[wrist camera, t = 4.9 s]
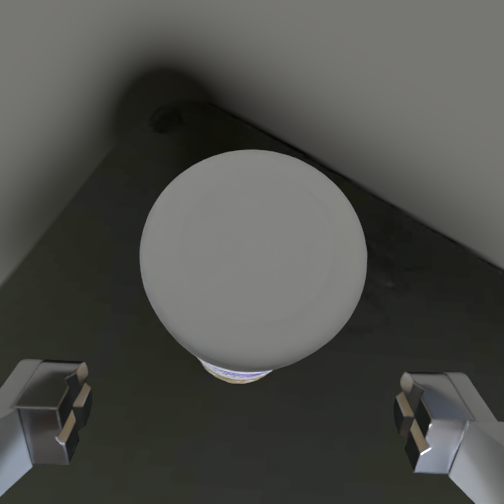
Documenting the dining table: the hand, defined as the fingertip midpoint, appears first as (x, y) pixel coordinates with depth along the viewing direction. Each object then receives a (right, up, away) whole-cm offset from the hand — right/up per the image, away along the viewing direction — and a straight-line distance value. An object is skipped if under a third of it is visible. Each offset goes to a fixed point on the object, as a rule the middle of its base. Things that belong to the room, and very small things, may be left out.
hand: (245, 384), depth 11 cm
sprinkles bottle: (0, -1, +10) cm, 10 cm away
